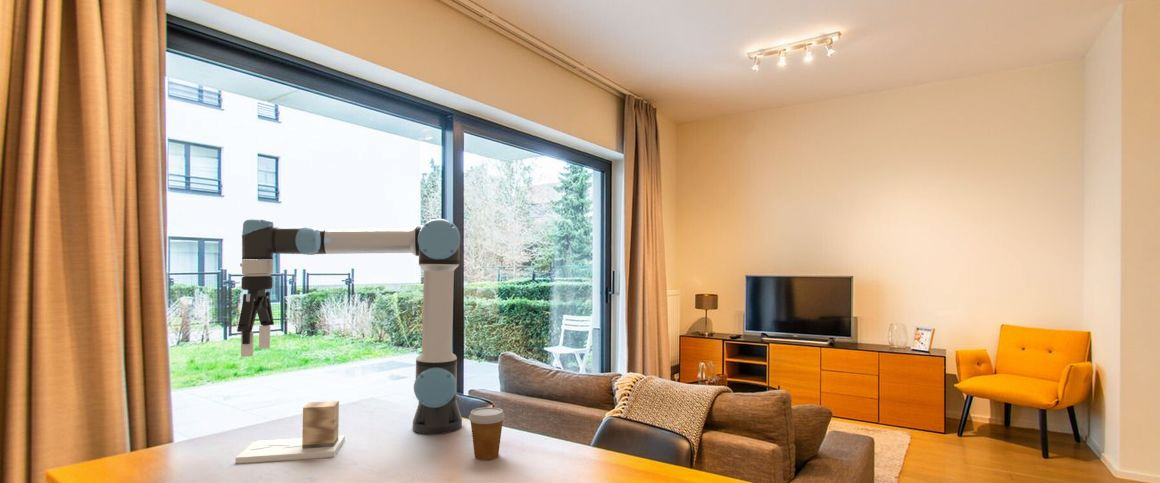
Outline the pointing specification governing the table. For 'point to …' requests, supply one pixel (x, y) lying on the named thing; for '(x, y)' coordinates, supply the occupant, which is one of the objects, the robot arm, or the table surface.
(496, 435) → the disposable coffee cup
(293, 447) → the board
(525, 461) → the table surface
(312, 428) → the block
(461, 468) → the table surface
